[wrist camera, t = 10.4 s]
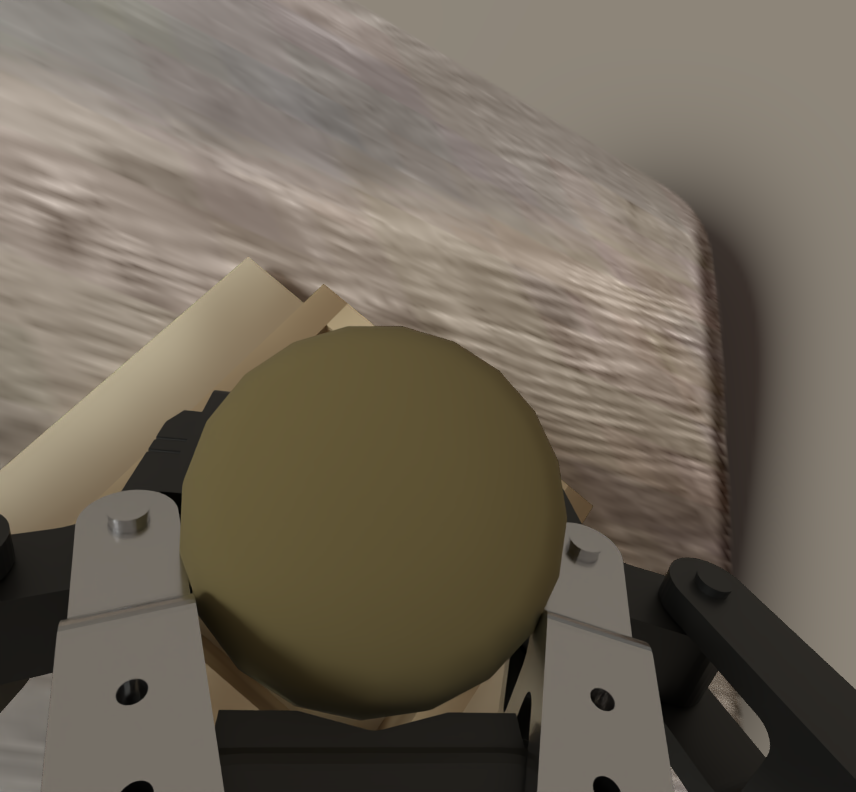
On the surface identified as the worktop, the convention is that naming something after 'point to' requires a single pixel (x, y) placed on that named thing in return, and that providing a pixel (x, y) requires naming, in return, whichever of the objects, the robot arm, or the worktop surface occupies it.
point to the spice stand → (165, 398)
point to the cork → (372, 522)
